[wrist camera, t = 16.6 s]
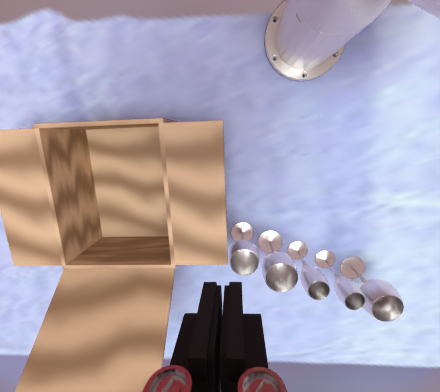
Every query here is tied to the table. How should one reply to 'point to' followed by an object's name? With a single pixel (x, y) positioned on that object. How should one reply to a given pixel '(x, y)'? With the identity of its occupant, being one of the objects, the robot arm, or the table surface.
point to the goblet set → (312, 273)
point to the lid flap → (101, 332)
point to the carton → (115, 194)
